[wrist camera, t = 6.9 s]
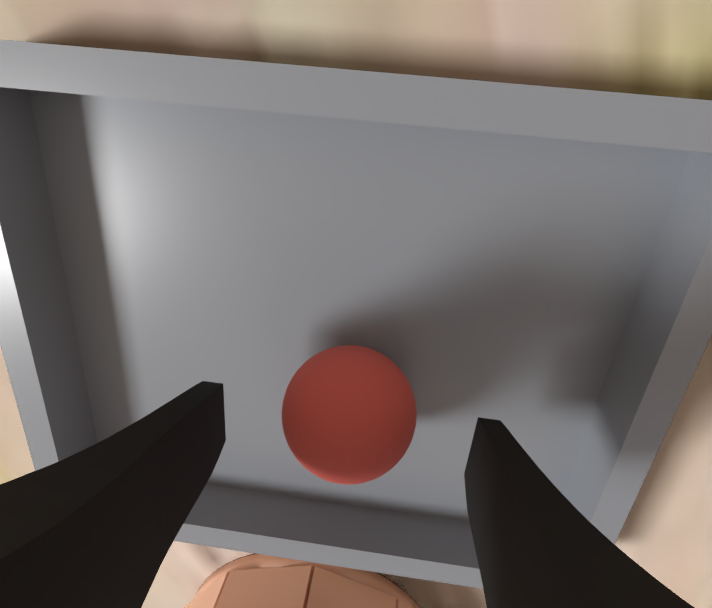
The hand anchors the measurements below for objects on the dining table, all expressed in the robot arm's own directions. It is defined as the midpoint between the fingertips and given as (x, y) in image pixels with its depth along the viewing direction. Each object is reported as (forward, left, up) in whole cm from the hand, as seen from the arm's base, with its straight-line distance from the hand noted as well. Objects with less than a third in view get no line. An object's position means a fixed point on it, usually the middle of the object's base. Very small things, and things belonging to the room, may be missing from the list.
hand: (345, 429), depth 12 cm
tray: (+1, -1, -3) cm, 4 cm away
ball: (0, 0, -1) cm, 1 cm away
